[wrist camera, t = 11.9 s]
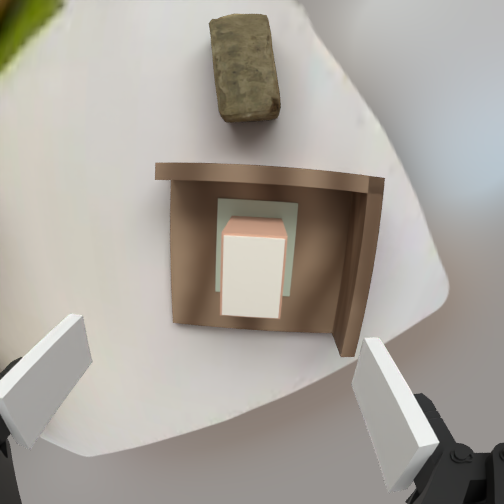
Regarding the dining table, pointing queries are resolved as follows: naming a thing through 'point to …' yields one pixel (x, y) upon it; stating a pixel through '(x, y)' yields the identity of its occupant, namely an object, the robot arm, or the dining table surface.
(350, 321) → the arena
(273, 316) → the terracotta block
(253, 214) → the sage pad
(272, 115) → the stone block
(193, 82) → the dining table surface
